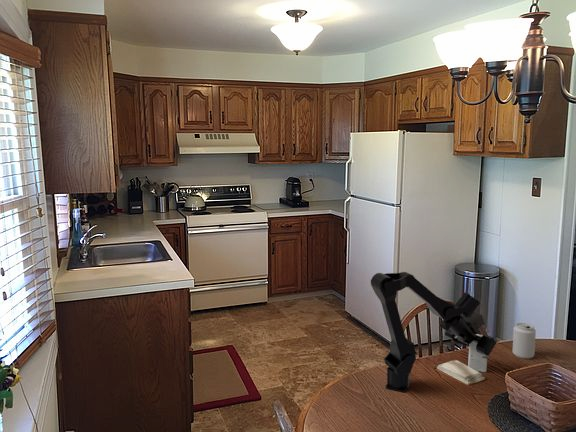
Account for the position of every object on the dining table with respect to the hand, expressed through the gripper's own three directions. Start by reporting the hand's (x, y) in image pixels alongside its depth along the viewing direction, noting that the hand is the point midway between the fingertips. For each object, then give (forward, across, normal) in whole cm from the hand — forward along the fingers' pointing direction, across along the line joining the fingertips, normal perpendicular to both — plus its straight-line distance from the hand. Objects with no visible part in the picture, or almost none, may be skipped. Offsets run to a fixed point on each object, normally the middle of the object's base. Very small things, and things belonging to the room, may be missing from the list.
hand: (480, 350), depth 172 cm
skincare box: (+4, 0, +6) cm, 7 cm away
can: (+20, -1, -11) cm, 23 cm away
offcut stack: (-2, 0, +12) cm, 12 cm away
